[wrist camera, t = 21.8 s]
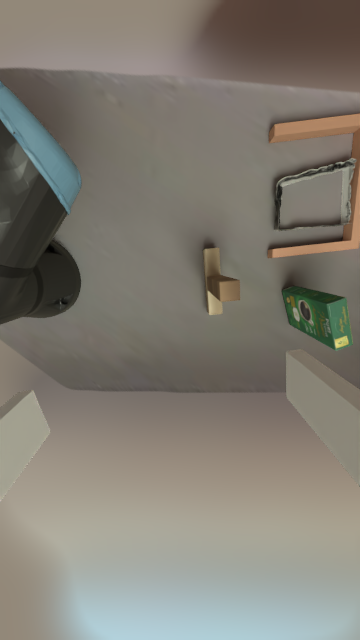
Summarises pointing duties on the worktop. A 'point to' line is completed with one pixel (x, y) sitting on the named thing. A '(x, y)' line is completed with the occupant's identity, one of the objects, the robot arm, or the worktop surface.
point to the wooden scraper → (218, 283)
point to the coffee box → (319, 316)
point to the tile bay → (356, 229)
